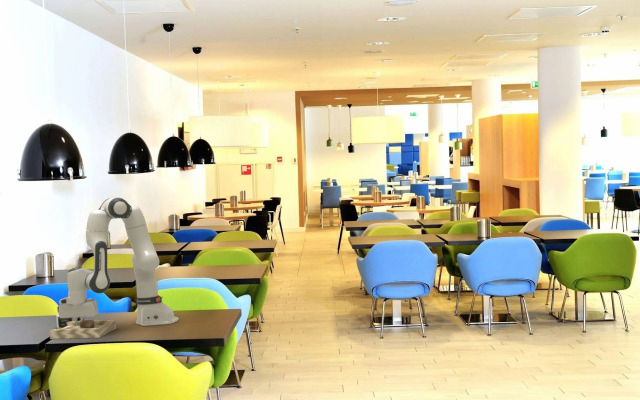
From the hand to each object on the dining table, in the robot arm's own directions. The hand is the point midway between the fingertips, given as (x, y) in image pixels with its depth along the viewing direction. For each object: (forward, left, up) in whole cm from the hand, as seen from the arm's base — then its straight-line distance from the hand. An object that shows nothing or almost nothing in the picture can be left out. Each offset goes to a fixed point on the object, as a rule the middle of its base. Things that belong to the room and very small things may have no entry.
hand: (79, 325), depth 371 cm
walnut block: (-4, 0, -2) cm, 5 cm away
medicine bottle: (+17, -17, -4) cm, 24 cm away
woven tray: (-2, 0, -4) cm, 5 cm away
